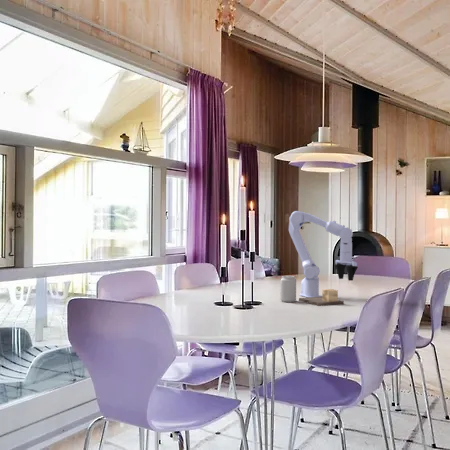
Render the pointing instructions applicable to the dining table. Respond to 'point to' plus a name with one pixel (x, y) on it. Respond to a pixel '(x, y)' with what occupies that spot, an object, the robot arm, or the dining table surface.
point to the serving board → (319, 301)
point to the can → (288, 289)
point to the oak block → (329, 295)
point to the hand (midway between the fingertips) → (345, 279)
